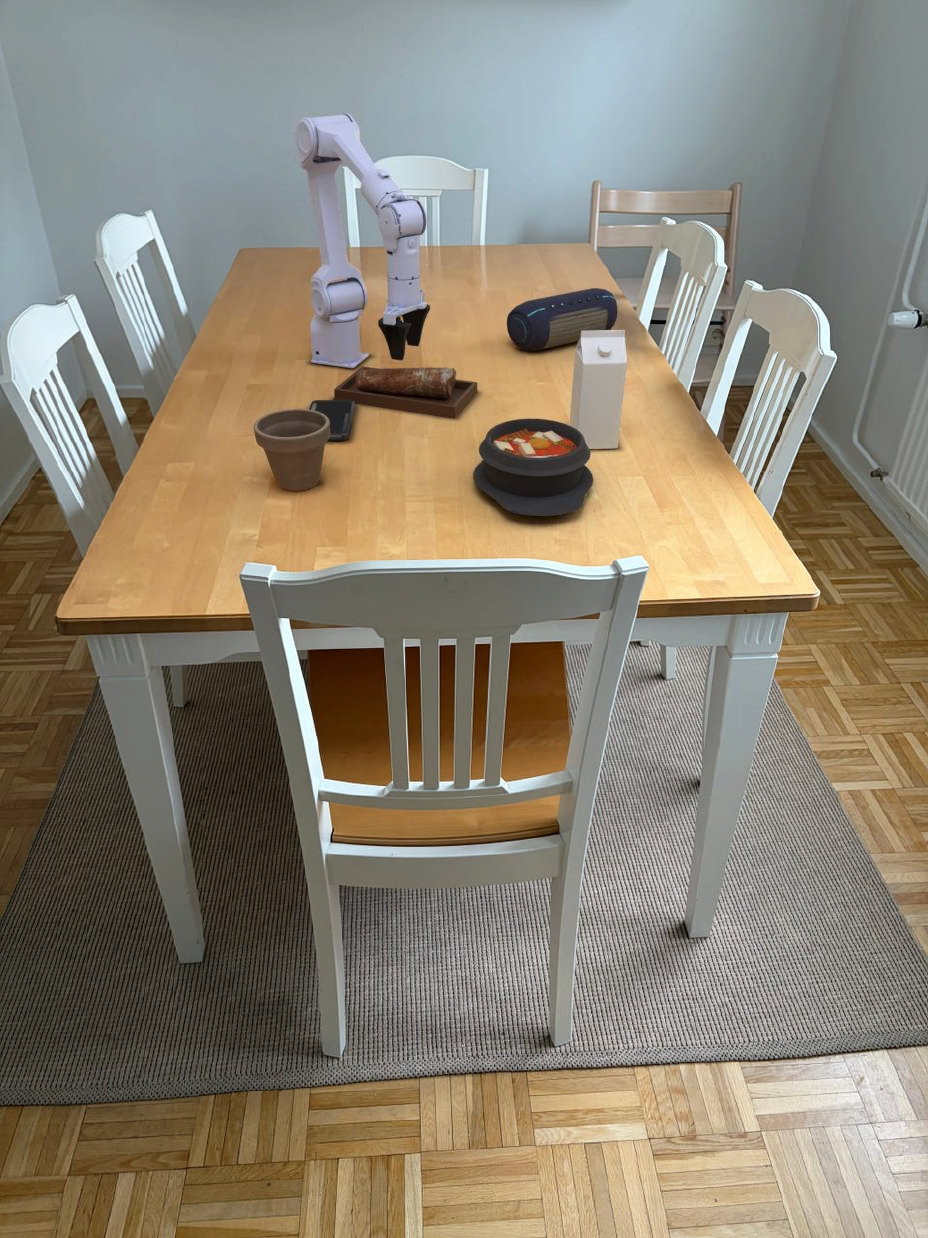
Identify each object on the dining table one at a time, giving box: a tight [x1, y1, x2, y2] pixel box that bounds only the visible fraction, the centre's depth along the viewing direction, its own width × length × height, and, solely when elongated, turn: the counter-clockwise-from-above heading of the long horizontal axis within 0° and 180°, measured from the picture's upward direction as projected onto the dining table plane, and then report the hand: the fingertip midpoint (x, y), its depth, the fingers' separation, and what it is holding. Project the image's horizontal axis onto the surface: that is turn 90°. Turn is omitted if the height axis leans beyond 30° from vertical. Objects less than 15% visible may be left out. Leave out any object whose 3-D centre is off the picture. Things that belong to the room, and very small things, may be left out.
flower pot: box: [253, 408, 330, 492], centre depth 146 cm, size 12×11×10 cm
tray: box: [333, 365, 478, 419], centre depth 177 cm, size 24×13×2 cm, turn 71°
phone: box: [308, 399, 356, 442], centre depth 167 cm, size 8×1×15 cm
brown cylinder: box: [356, 366, 457, 398], centre depth 175 cm, size 6×19×6 cm, turn 78°
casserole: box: [472, 418, 594, 517], centre depth 146 cm, size 25×19×8 cm
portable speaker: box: [506, 287, 619, 351], centre depth 199 cm, size 25×10×10 cm, turn 123°
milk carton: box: [568, 329, 628, 450], centre depth 157 cm, size 7×7×19 cm
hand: (405, 352), depth 173 cm, fingers open, 7 cm apart
